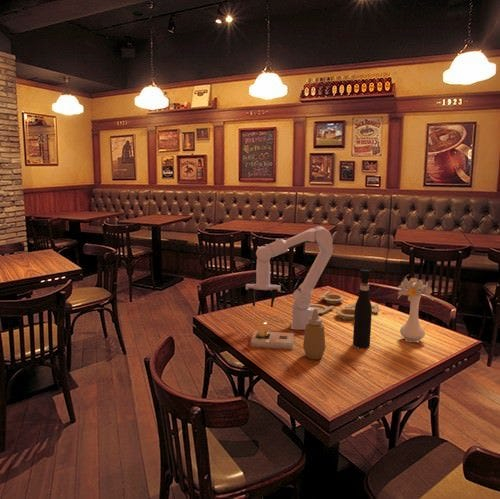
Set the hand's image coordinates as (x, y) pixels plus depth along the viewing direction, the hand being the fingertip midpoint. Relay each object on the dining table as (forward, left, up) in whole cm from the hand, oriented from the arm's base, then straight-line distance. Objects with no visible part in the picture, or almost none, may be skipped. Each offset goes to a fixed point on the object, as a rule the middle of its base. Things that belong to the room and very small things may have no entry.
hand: (262, 306), depth 184 cm
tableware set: (-34, -29, -10) cm, 46 cm away
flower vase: (-60, +4, -10) cm, 61 cm away
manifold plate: (-6, +16, -9) cm, 20 cm away
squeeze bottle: (-22, +26, -10) cm, 35 cm away
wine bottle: (-40, +13, -10) cm, 43 cm away
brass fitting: (-2, +16, -9) cm, 19 cm away
